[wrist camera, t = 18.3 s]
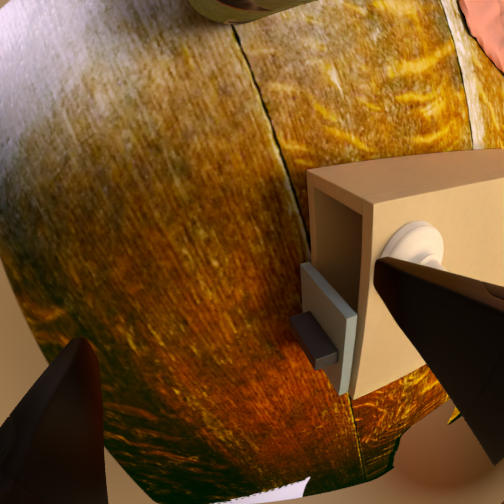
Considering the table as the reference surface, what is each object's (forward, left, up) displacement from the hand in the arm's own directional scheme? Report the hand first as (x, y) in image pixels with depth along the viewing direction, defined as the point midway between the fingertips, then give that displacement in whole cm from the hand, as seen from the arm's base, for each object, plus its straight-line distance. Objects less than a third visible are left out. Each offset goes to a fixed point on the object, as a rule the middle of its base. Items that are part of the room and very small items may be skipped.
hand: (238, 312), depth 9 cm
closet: (+21, -8, -13) cm, 26 cm away
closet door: (+6, -11, -13) cm, 18 cm away
